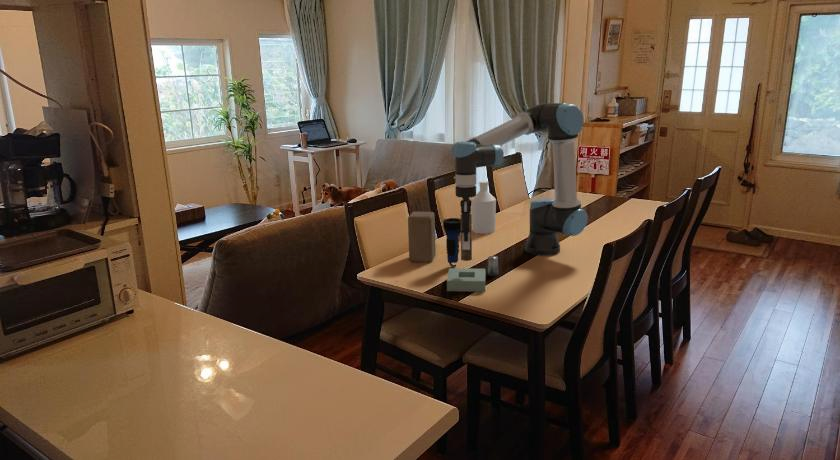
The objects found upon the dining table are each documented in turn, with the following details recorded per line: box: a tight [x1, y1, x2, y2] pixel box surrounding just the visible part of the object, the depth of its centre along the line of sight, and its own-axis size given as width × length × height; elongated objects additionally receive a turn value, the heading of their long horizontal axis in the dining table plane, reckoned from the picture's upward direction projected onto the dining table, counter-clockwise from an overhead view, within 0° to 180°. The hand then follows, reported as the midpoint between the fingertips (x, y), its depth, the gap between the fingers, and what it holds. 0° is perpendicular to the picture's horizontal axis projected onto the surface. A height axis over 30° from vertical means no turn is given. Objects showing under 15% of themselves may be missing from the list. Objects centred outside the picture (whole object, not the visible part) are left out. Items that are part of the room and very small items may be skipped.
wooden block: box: [407, 211, 437, 263], centre depth 253 cm, size 10×10×20 cm
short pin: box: [487, 255, 499, 277], centre depth 233 cm, size 4×4×7 cm
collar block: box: [446, 267, 486, 293], centre depth 223 cm, size 14×14×4 cm
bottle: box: [471, 180, 497, 235], centre depth 294 cm, size 12×12×25 cm
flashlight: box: [442, 217, 461, 268], centre depth 241 cm, size 8×8×20 cm
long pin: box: [460, 213, 473, 262], centre depth 219 cm, size 4×4×17 cm
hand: (466, 247), depth 220 cm, fingers closed on long pin, 4 cm apart
